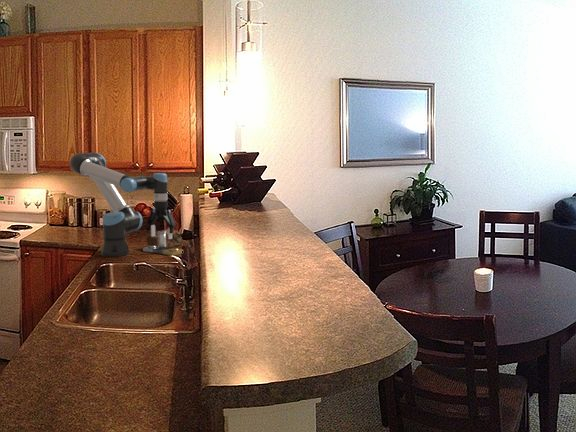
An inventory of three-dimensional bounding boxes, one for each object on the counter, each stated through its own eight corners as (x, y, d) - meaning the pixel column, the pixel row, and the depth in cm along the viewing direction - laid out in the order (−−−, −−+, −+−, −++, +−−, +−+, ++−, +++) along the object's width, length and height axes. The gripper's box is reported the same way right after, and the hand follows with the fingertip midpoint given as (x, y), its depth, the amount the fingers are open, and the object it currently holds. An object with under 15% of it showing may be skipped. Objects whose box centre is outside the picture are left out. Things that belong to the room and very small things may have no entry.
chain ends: (143, 251, 315) (142, 246, 314) (153, 249, 321) (153, 244, 321) (173, 255, 302) (173, 250, 301) (183, 253, 308) (183, 248, 308)
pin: (157, 252, 311) (156, 231, 309) (162, 251, 315) (162, 230, 313) (162, 253, 308) (161, 232, 307) (168, 251, 312) (167, 231, 311)
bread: (171, 243, 340) (170, 227, 338) (182, 245, 333) (181, 229, 332) (146, 248, 325) (145, 231, 324) (157, 250, 319) (156, 233, 317)
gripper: (140, 199, 311) (141, 236, 314) (172, 202, 298) (172, 240, 301) (150, 198, 317) (151, 234, 320) (181, 201, 304) (182, 238, 307)
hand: (161, 237), depth 311 cm, fingers open, 13 cm apart
